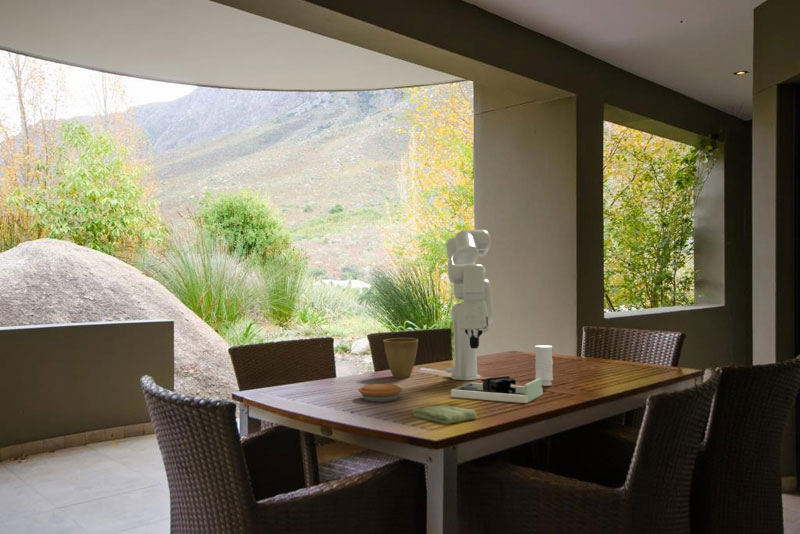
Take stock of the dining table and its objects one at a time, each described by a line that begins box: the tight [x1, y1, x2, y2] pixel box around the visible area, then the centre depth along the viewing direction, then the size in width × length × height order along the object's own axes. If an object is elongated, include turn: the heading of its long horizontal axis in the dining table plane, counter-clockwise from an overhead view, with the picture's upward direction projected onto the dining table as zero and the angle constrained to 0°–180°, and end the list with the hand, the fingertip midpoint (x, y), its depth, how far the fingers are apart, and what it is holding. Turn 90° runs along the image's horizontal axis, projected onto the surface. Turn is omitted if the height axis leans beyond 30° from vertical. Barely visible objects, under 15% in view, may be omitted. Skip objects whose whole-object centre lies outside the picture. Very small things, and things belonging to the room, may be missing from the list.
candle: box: [534, 344, 554, 387], centre depth 265 cm, size 7×7×15 cm
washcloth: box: [412, 404, 478, 425], centre depth 207 cm, size 13×18×3 cm
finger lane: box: [450, 378, 544, 404], centre depth 242 cm, size 28×18×6 cm, turn 61°
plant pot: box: [383, 337, 419, 379], centre depth 290 cm, size 15×15×16 cm
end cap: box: [482, 375, 517, 394], centre depth 242 cm, size 10×7×7 cm
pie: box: [358, 383, 403, 403], centre depth 239 cm, size 15×16×5 cm
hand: (474, 348), depth 246 cm, fingers closed
